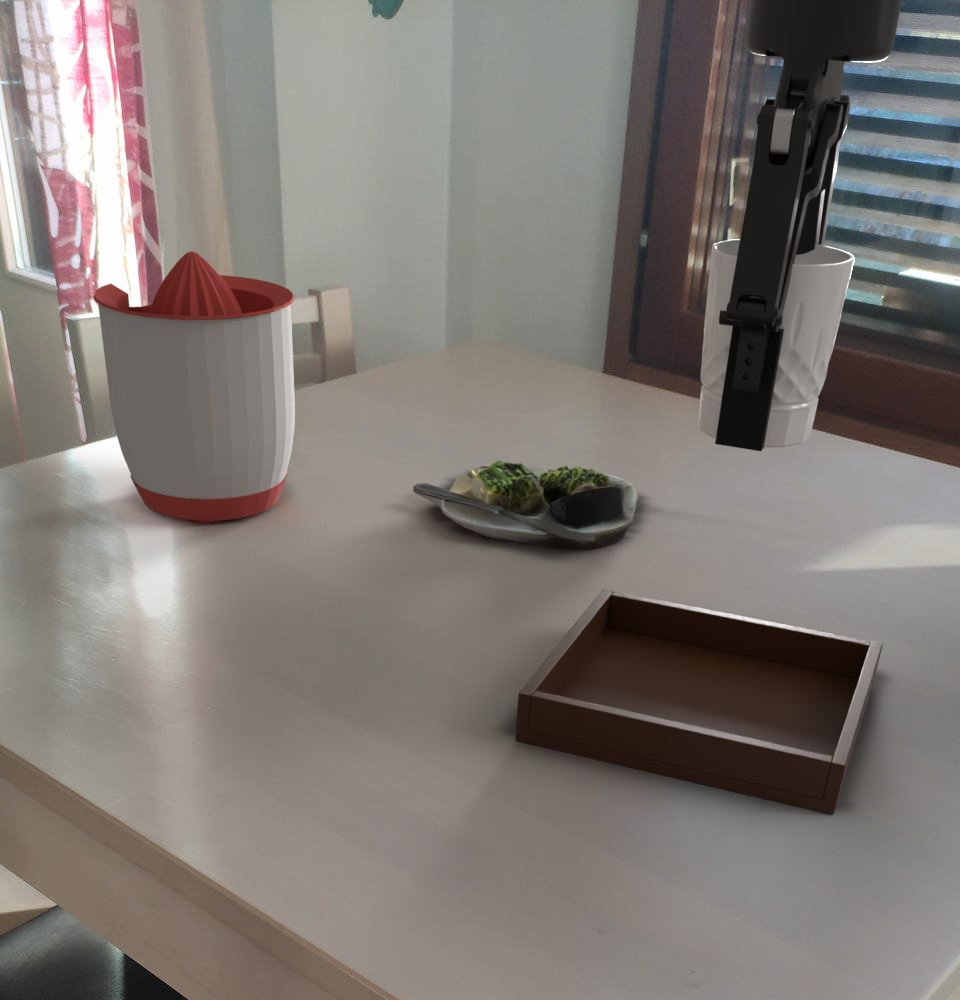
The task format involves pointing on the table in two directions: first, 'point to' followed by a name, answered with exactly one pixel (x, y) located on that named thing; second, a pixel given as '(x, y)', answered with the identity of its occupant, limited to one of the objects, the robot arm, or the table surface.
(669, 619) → the tray
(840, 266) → the white cup
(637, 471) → the table surface
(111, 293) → the citrus juicer
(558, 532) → the salad plate
